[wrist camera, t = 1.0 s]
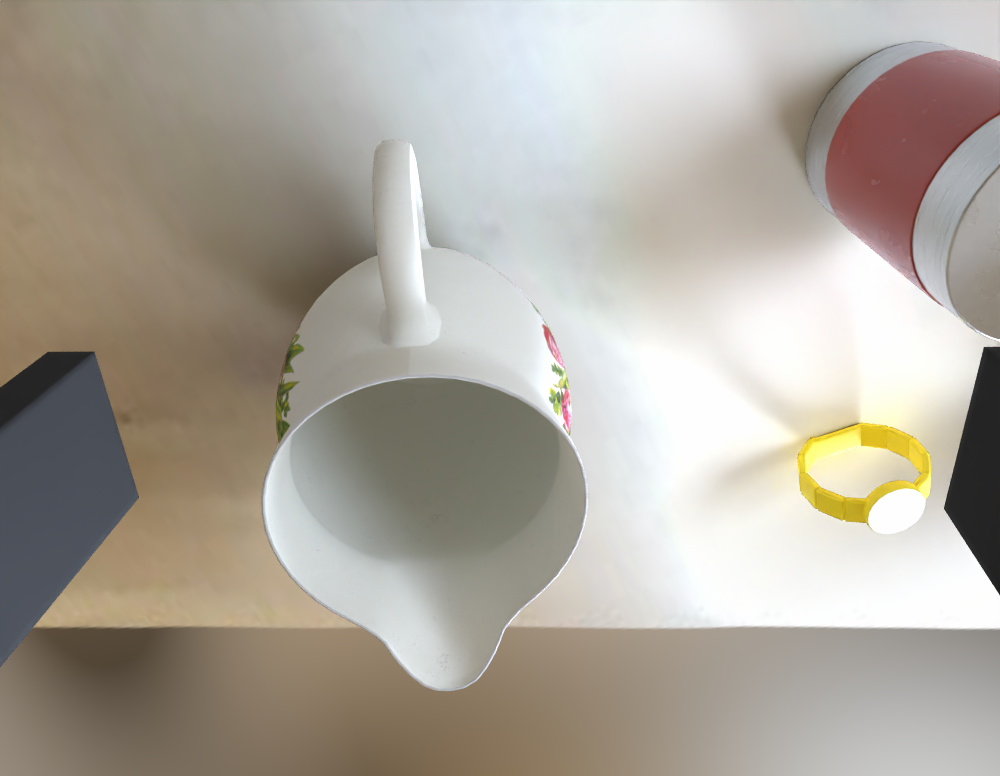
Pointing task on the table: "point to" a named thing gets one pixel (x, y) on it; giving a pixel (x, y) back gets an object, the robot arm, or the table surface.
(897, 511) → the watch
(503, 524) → the pitcher
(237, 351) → the table surface
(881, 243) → the tin can
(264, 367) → the table surface
